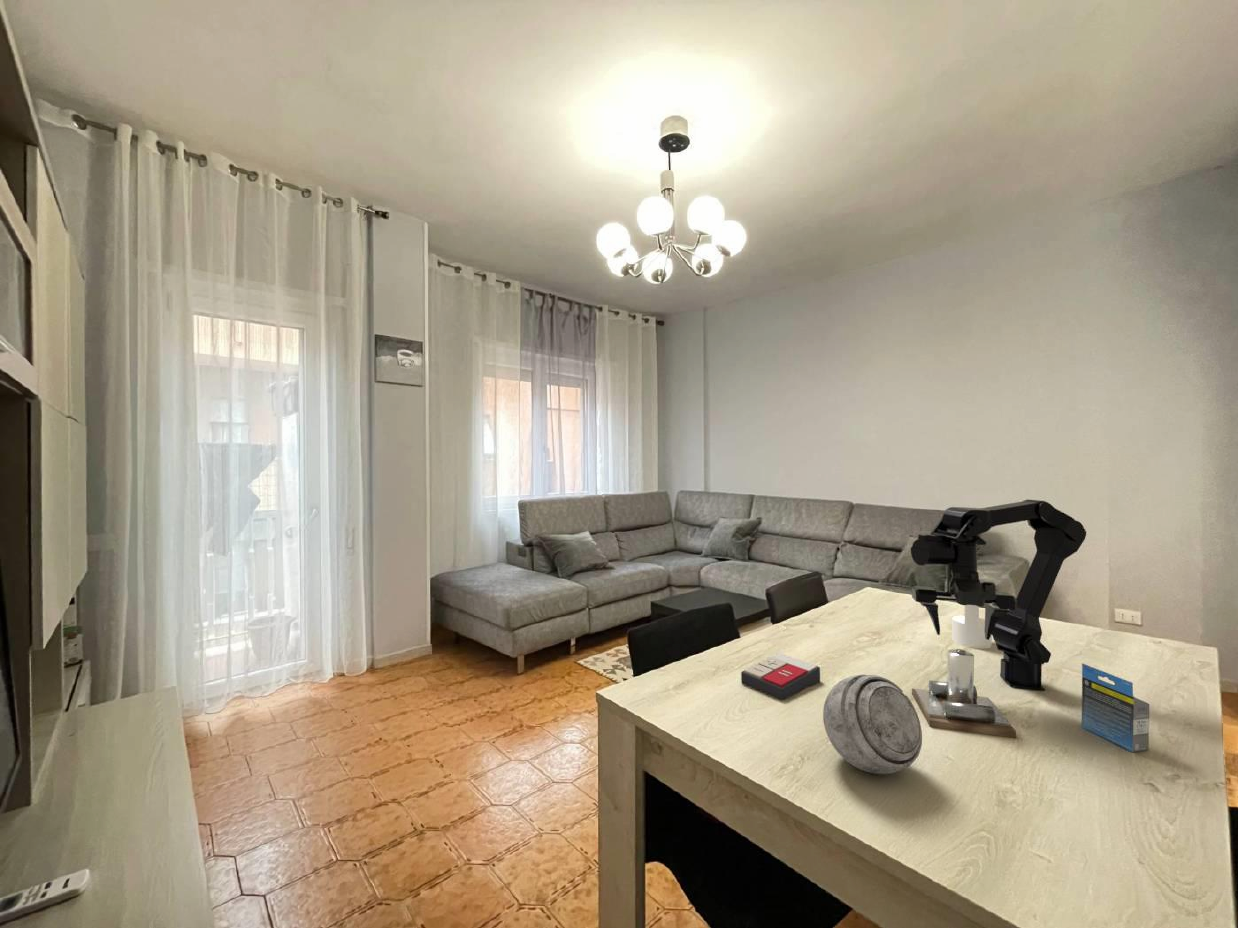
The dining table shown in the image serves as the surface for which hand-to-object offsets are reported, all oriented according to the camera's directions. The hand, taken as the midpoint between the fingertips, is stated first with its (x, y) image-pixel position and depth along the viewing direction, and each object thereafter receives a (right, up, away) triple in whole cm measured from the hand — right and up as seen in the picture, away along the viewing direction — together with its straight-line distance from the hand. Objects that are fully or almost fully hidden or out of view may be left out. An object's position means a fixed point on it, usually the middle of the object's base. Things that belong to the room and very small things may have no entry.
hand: (962, 636), depth 115 cm
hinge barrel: (-7, -11, -10) cm, 17 cm away
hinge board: (-7, -12, -10) cm, 17 cm away
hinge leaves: (-7, -11, -10) cm, 17 cm away
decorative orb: (-33, -13, -27) cm, 45 cm away
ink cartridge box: (+15, -13, -19) cm, 27 cm away
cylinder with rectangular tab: (+22, -11, +29) cm, 38 cm away
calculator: (-38, -13, +5) cm, 41 cm away
